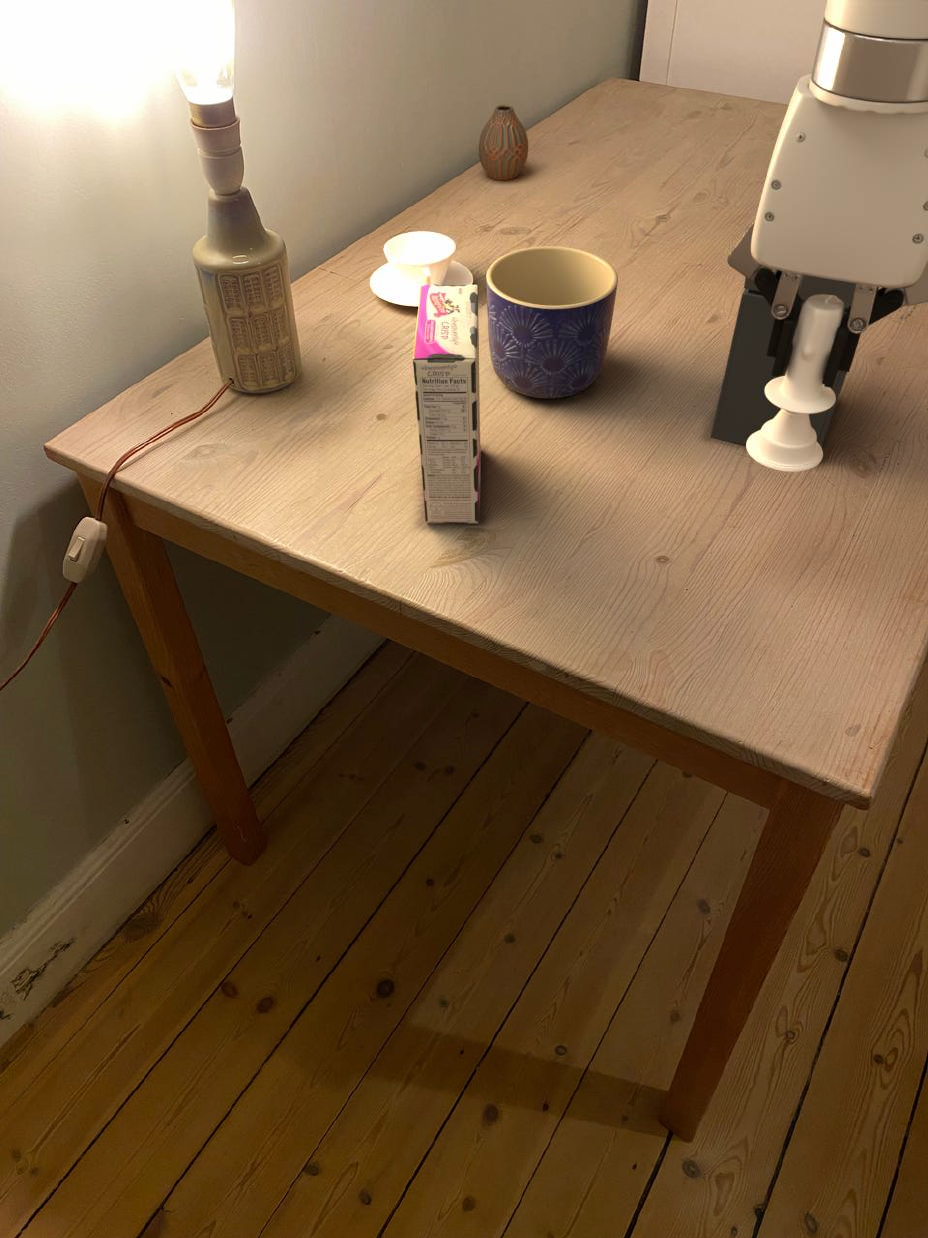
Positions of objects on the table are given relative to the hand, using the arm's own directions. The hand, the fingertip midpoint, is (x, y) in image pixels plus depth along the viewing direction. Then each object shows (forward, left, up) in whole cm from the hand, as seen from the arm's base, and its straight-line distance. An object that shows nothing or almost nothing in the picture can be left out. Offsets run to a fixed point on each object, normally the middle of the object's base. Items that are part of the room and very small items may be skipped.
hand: (805, 369), depth 61 cm
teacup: (+45, -30, -18) cm, 58 cm away
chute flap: (+2, -15, 0) cm, 15 cm away
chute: (+2, -21, -18) cm, 28 cm away
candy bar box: (+26, +1, -18) cm, 32 cm away
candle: (0, 0, -7) cm, 7 cm away
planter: (+25, -19, -18) cm, 37 cm away
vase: (+50, -65, -18) cm, 85 cm away
